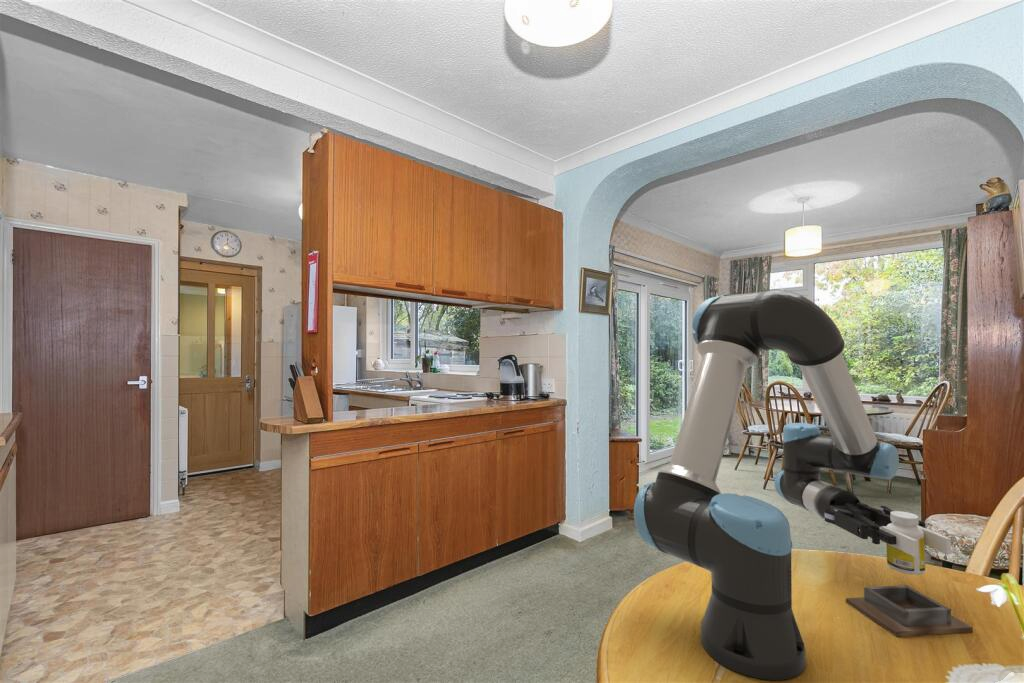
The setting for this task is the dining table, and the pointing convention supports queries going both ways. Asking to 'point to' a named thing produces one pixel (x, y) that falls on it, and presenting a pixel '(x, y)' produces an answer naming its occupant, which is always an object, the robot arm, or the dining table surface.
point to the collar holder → (907, 612)
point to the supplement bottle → (898, 558)
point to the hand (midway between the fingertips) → (932, 547)
